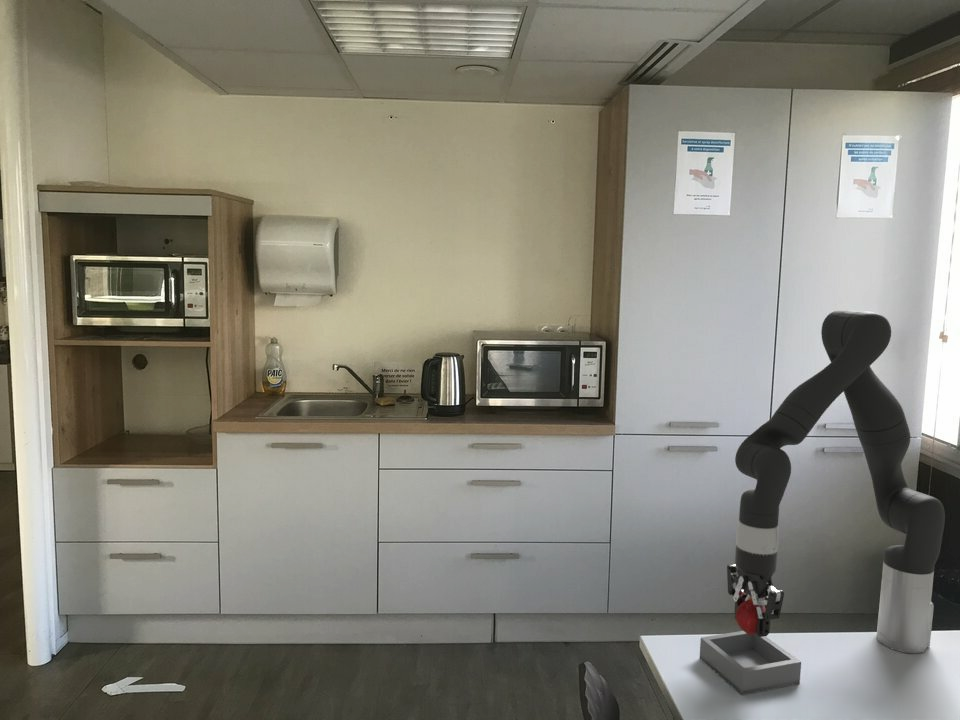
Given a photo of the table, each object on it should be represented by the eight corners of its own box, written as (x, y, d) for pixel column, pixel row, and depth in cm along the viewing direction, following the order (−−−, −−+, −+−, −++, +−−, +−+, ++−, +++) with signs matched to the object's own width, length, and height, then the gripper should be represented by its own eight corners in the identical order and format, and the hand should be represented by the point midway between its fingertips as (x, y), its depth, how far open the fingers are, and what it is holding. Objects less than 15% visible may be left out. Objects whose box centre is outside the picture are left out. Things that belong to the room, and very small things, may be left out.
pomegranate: (770, 643, 137) (773, 603, 136) (740, 642, 138) (743, 602, 137) (759, 628, 143) (762, 590, 142) (730, 627, 143) (733, 589, 142)
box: (753, 649, 150) (755, 628, 149) (799, 683, 137) (801, 661, 137) (699, 658, 146) (700, 637, 145) (741, 695, 133) (743, 672, 133)
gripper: (799, 557, 132) (793, 643, 135) (748, 530, 146) (743, 608, 148) (766, 561, 130) (759, 648, 132) (717, 533, 144) (712, 613, 146)
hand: (751, 627), depth 140 cm, fingers closed on pomegranate, 6 cm apart
